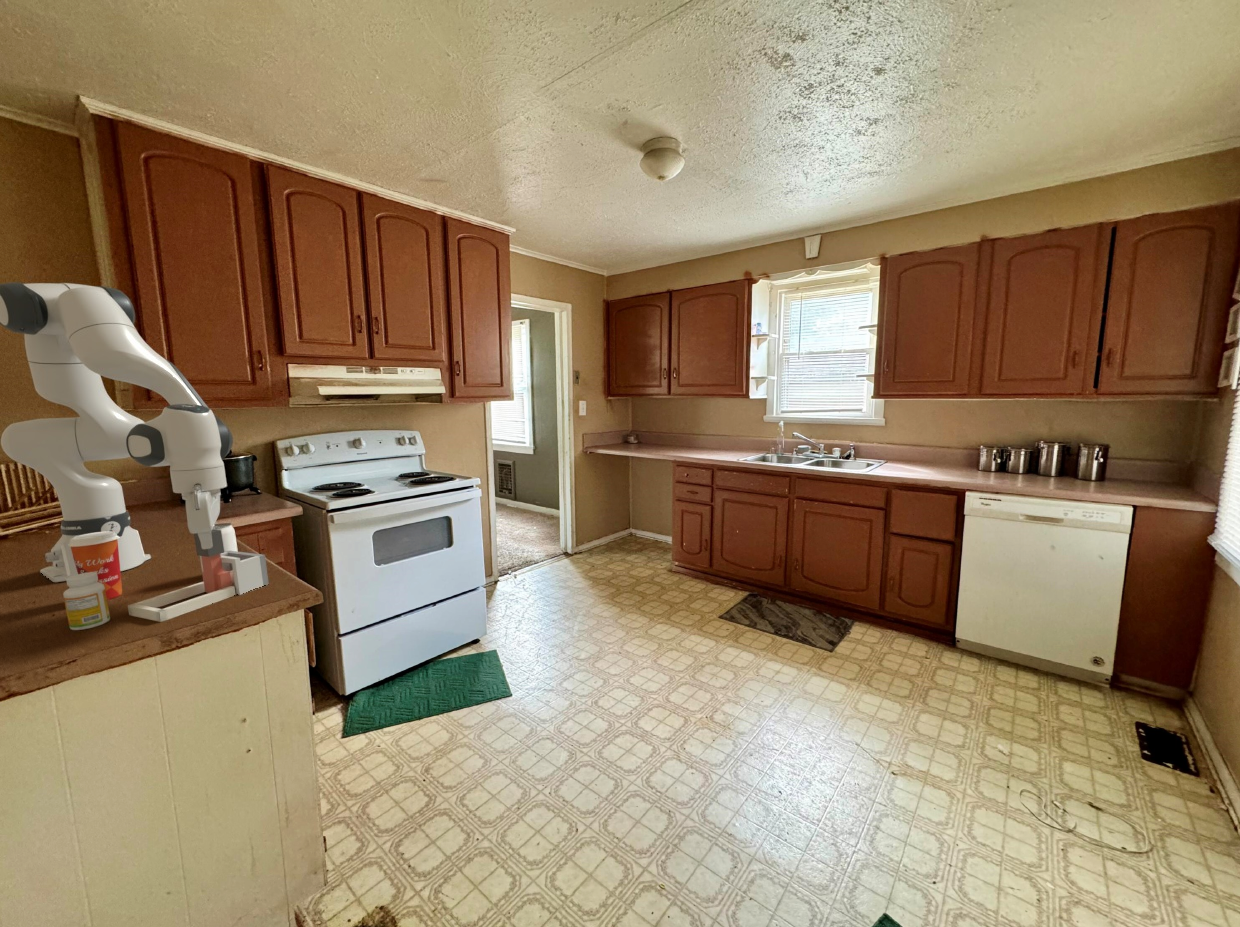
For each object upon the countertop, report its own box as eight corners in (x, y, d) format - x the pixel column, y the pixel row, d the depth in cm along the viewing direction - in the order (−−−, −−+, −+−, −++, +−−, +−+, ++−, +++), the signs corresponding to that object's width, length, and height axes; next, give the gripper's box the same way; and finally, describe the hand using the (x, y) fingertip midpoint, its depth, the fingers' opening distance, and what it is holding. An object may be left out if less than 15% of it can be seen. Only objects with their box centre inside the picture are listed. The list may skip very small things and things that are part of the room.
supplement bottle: (89, 619, 98) (80, 571, 97) (118, 617, 99) (110, 569, 98) (61, 631, 93) (51, 581, 92) (92, 629, 94) (83, 579, 92)
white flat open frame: (129, 615, 100) (127, 605, 99) (204, 590, 112) (203, 581, 112) (161, 621, 96) (159, 612, 96) (235, 595, 108) (234, 586, 108)
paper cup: (71, 607, 105) (58, 542, 103) (88, 595, 111) (77, 533, 109) (121, 599, 108) (110, 536, 106) (135, 587, 115) (125, 528, 113)
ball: (237, 566, 115) (240, 582, 116) (218, 572, 112) (221, 589, 112) (248, 567, 114) (251, 584, 115) (229, 574, 110) (233, 591, 111)
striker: (199, 593, 109) (190, 532, 107) (215, 588, 112) (206, 528, 110) (217, 596, 107) (208, 534, 105) (232, 590, 110) (224, 530, 108)
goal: (204, 588, 113) (199, 554, 112) (234, 579, 118) (229, 546, 117) (240, 594, 108) (235, 559, 107) (268, 584, 114) (264, 550, 113)
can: (221, 578, 119) (214, 529, 117) (199, 577, 120) (192, 529, 119) (247, 569, 125) (240, 522, 124) (225, 568, 127) (219, 522, 125)
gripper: (214, 485, 99) (224, 553, 101) (222, 474, 116) (230, 532, 118) (172, 490, 96) (183, 559, 98) (186, 477, 113) (195, 537, 114)
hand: (209, 544), depth 108 cm, fingers closed on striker, 5 cm apart
